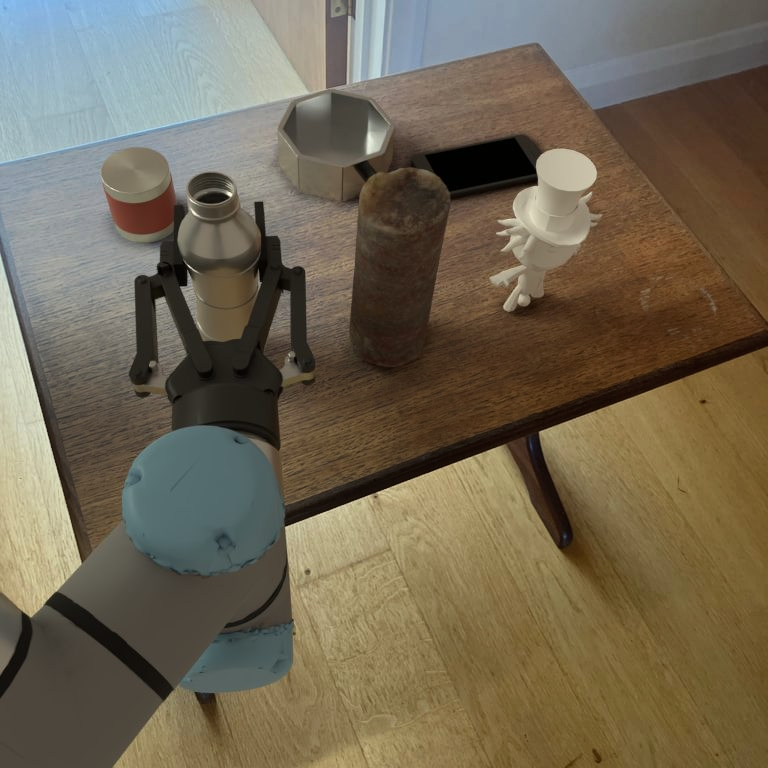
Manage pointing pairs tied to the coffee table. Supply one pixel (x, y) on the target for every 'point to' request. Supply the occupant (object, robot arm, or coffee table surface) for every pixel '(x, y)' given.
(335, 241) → the coffee table surface
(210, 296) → the metal bottle
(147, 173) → the tin can
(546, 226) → the figurine
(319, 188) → the saucepan
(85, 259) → the coffee table surface
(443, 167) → the smartphone
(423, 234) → the candle
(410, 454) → the coffee table surface
